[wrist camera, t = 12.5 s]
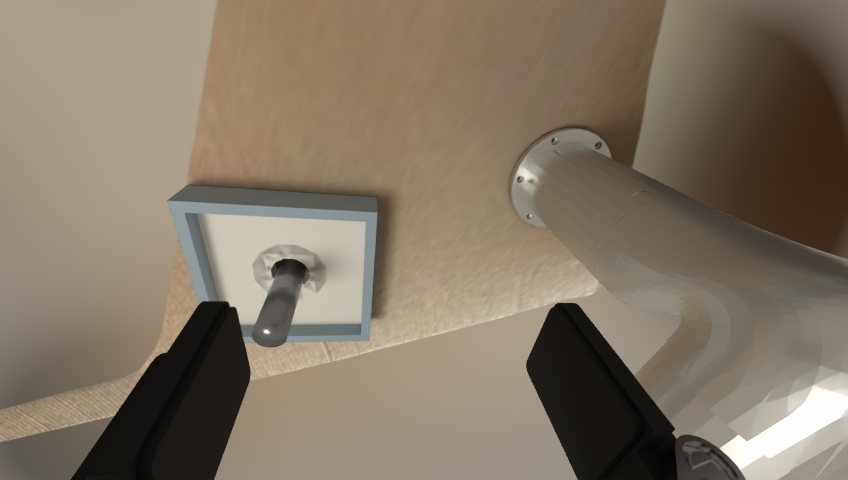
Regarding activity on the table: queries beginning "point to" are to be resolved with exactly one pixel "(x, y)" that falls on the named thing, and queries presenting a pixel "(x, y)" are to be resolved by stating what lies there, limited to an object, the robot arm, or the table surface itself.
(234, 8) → the table surface
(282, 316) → the peg
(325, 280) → the box
